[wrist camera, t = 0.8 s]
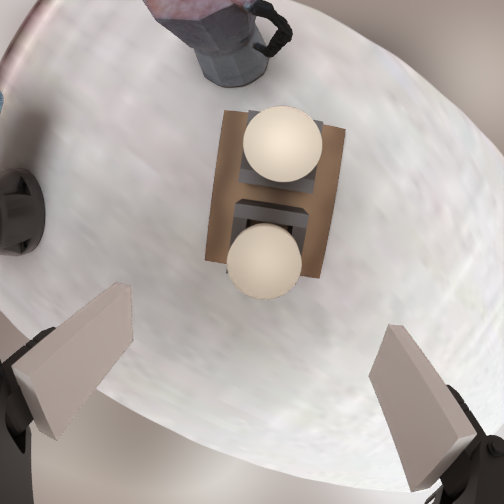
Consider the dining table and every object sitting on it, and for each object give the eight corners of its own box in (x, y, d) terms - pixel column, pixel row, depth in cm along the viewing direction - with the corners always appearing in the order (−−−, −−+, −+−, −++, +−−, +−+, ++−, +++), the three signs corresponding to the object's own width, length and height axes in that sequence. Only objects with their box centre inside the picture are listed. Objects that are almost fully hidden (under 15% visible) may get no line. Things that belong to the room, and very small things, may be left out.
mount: (209, 255, 38) (191, 276, 30) (227, 114, 33) (213, 97, 25) (316, 272, 37) (327, 298, 29) (340, 132, 33) (359, 120, 25)
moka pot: (211, 12, 29) (167, -81, 10) (309, 61, 31) (337, -33, 11) (169, 62, 32) (90, -9, 12) (267, 116, 33) (258, 51, 14)
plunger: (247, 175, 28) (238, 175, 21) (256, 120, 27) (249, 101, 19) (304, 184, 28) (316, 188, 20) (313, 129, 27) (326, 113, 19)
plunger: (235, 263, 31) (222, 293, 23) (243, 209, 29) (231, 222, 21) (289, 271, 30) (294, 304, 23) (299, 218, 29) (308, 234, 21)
